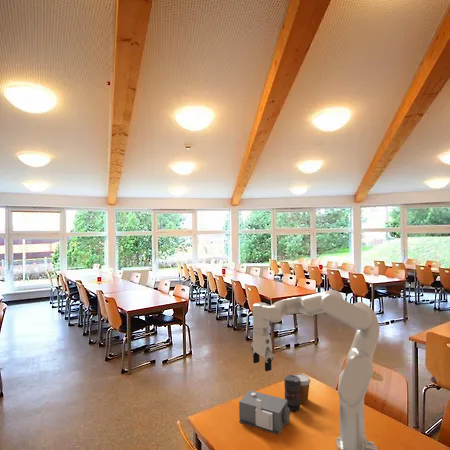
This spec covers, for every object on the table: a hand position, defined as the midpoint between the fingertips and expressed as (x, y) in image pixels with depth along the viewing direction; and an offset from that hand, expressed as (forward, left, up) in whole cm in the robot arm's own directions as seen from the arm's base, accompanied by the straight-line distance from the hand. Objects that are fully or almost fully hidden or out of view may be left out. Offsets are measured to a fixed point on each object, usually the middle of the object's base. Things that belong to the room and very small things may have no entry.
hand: (262, 366), depth 143 cm
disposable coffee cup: (-10, -29, -27) cm, 41 cm away
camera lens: (-8, -20, -27) cm, 35 cm away
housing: (+1, -4, -27) cm, 27 cm away
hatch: (-2, +3, -26) cm, 26 cm away
